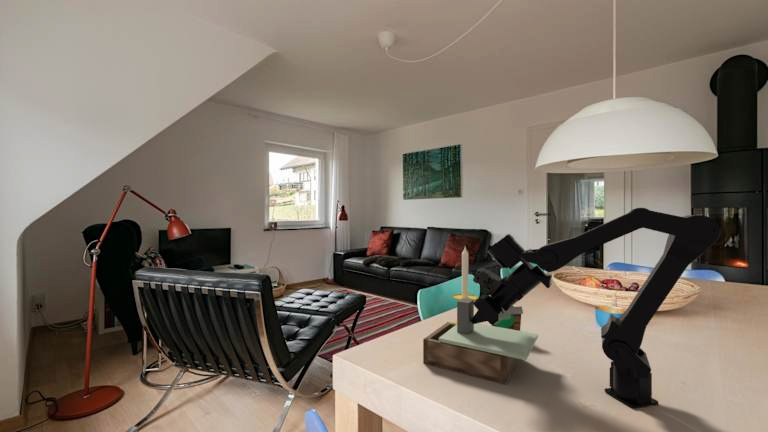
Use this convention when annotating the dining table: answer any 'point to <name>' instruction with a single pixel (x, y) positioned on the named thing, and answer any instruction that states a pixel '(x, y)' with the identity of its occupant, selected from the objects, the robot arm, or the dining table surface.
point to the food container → (510, 318)
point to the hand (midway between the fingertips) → (472, 322)
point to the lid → (487, 335)
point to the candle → (464, 280)
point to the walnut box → (466, 358)
